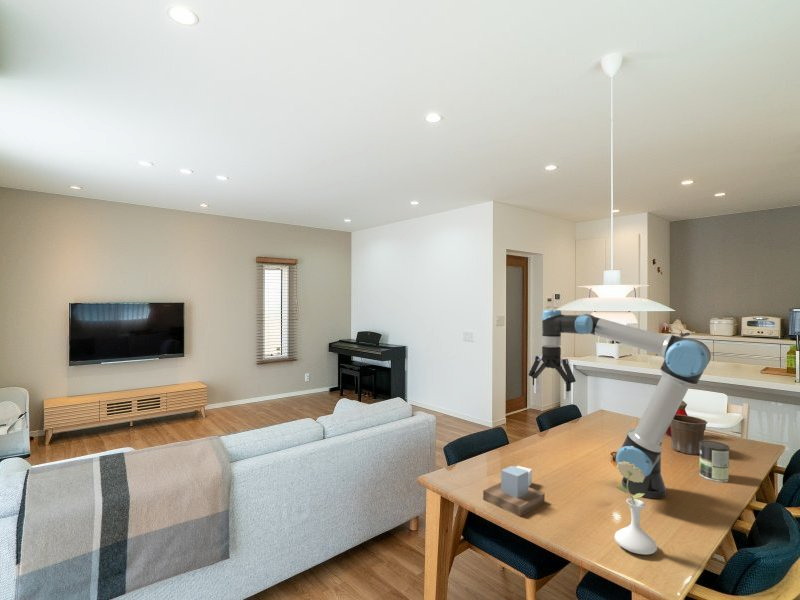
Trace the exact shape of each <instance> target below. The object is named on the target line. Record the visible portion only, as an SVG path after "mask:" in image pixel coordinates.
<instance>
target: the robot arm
mask: <svg viewBox="0 0 800 600" xmlns="http://www.w3.org/2000/svg"><path fill="white" fill-rule="evenodd" d="M541 324H542V327H541V328H542V329H541V330H542V334H541V335H542V336H541V345H542V347H541V354H542V356H541V355H536V356H534V363H533V364H532V366H531V369H529V372H528V376H529V377H531V378H532V385H533V390H534V391H533V392H534V394H539V393H540V377H539V376H540V375H541V374H542V372H543V371H544V370H545V369H546V368H547V369H549V368H551V369H553V370H554V369H555V370H556V371H557V373H558V374H559V375H560V376H561V378H562V379H563V381H564V383H563V400H568V399H570V392H571V390H572V383H576V378H575V376H574V373H573V371H572V368H571V367H570V364H569V359H568V358H562V357H561V355H562V350H561V349H562V348H561V345H562V334H577V335H589V334H590V335H594V336H597V337H601V338H604V339H607V340H611V341H614V342H617V343H619V344H620V343H621V344H624V345H627V346H631V347H633V348H637V349H640V350H644V351H647V352H650V353H654V354H657V355H660V356H661V357H662V358H663V359H664V360H663V362H662V365H661V366H660V368H659V370H660V372H661V378H660V379H659V381H658V384H657V386H656V387H655V389H654V392H653V394H652V396H651V398H650V399H649V402H648V404H647V405H646V407H645V409H644V412H643V414H642V416H641V418H640V419H639V421H638V424H637V426H636V428H635V429H630V430H628V431H627V434H626V437H625V440H624V441H623V443H622V445H621V447H619V449H618V450H617V452H616V456H615V460H616V464H617V465H618V463H620V462H623V461H625V462H629V463H630V464H634V465H635V467H636V468H639V469H640V470H641V471H642V474H643V475H644V477H645V479H644V480H643V482H639V483H638V482H633V481H630V480H629V481H628V490H629V492H630V494H631V495H635V494H638V493H642V494H644V493H645V494H644V495H643V496H642V498H647V499H662V498H665V497H666V495H667V488H666V485H665V482H664V479H663V476H662V469H661V468H662V451H663V448H662V444H663V443H662V440H663V439H664V437H665V435H666V431H667V429H668V427H669V425H670V423H671V421H672V419H673V418H674V416H675V414H676V412H677V410H678V408H679V406H680V404H681V402H682V400H683V399H684V398H685V397H686V394H687V392H688V391H689V389H690V387H693V386H696V385H698V383H699V381H700V378H701V377H702V375H703V373H704V371H705V370H706V369H707V368H708V367H707V366H708V364H710V361H711V359H712V358H711V357H712V356H711V351H710V348H709V347H708V346H707V345H706V344H705V343H704V342H702V341H701V340H698V339H696V338H695V339H694V338H690V337H689V338H688V337H682V336H677V335H674V334H670V335H668V336H667V335H664V334H660V333H656V332H652V331H649V330H645V329H641V328H639V327H638V328H637V327H634V326H631V325H626V324H624V323H623V324H622V323H620V322H615V321H611V320H608V319H605V318H600V317H596V316H594V315H592V314H588V313H586V314H568V315H567V314H563V313H562V310H561V309H560V310H558V309H544V310H543V311H542V319H541ZM541 361H542V364H541V365H540V363H541ZM561 364H562V365H563V366H562V365H561ZM539 365H540V366H539ZM683 401H684V400H683ZM622 476H623V475H622ZM627 480H628V478H625V477H624V476H623V477H622V479H621V485H622V486H623V487H625V488H626V489H627ZM629 492H628V493H629Z"/></svg>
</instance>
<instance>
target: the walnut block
mask: <svg viewBox="0 0 800 600" xmlns="http://www.w3.org/2000/svg"><path fill="white" fill-rule="evenodd" d="M482 494H483V496H482V500H483V501H485V502H487V503H489V504H491V505H494V506H495V507H498V508H499V509H502V510H504V511H506V512H508V513H511V514H513V515H515V516H517V517H522V516H525V515H526V514H528V513H529V512H531V511H533V510H534V509H536V508H538V507H539V506H541V505H543V504H544V503H545V499H546V498H545V492H542V491H540V490H538V489H535V488H532V487H531V486H529V487H528V493H527V494H525V495H523V496H521V497H519V498H515V497H513V496H510V495H508V494H506V493H503V492H501V482H499V483H497V484H494V485H492V486H490V487H488V488H486V489H484V490H483V492H482Z"/></svg>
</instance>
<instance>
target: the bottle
mask: <svg viewBox="0 0 800 600" xmlns="http://www.w3.org/2000/svg"><path fill="white" fill-rule="evenodd" d="M687 406H688V403H686V402H685V401H684V400H682V402H681V404H680V406H679V408H678V410H677V412H676V414H675V415H685V416H689V415H688V414H687V411H686V408H687ZM665 435H667V436H668V437H671V438H672V436H671V425H669V427H668V429H667V431H666V433H665Z"/></svg>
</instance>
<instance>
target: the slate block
mask: <svg viewBox="0 0 800 600" xmlns="http://www.w3.org/2000/svg"><path fill="white" fill-rule="evenodd" d="M500 472H501V473H500V474H501V475H500V476H501V477H500V481H501V482H500V483H501V492H503V493H506V494H508V495H510V496H513V497H515V498H519V497H521V496H523V495H525V494H527V493H528V471H526V470H523V469H520V468H517V466H514V465H510V466H507V467H506V468H503V469H502V470H501V471H500Z"/></svg>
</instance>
